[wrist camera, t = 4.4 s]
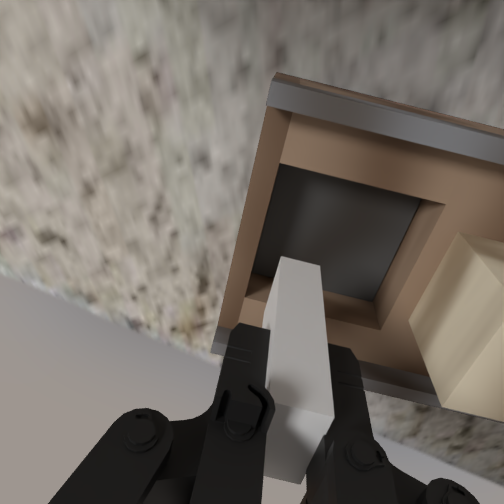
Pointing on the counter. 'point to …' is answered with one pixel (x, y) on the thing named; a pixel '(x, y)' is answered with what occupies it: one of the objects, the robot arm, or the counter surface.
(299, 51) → the counter surface
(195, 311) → the counter surface
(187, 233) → the counter surface
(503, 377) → the block
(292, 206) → the trap track
